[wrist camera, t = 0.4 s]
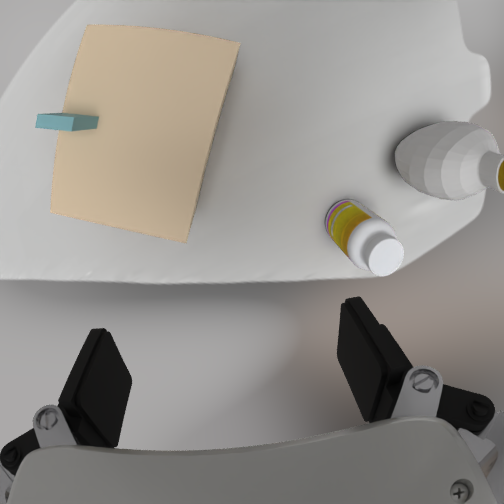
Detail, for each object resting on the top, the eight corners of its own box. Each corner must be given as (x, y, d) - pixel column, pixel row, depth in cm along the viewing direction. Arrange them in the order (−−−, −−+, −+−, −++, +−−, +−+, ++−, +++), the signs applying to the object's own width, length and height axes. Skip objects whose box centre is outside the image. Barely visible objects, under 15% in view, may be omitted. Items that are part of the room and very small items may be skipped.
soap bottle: (394, 198, 42) (522, 280, 18) (370, 146, 38) (518, 195, 15) (454, 156, 40) (582, 204, 16) (436, 107, 36) (576, 128, 12)
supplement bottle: (318, 237, 43) (351, 280, 32) (331, 193, 41) (372, 224, 29) (357, 244, 44) (398, 287, 33) (371, 204, 42) (418, 235, 30)
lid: (89, 26, 20) (63, 10, 15) (240, 44, 23) (244, 25, 18) (52, 210, 28) (24, 230, 22) (186, 241, 31) (179, 268, 25)
